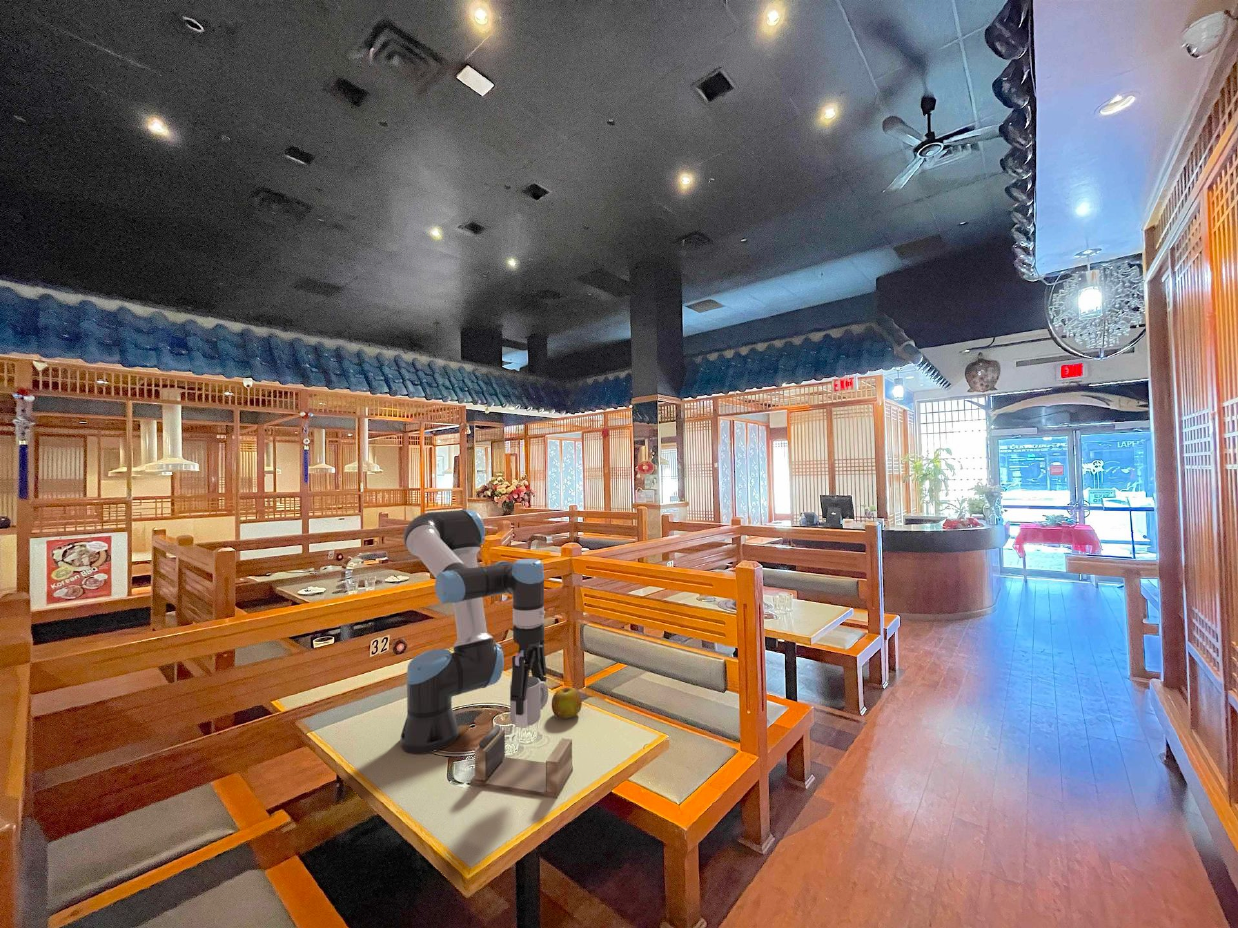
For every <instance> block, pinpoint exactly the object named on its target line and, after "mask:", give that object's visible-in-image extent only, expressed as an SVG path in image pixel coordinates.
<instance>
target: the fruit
mask: <svg viewBox="0 0 1238 928" xmlns="http://www.w3.org/2000/svg"><path fill="white" fill-rule="evenodd" d="M580 694H581V693H580V692H579V691H578V690H577V689H575V688H574V687H569V686H568V687H563V688H561V689H559V690H557V691H556V692H555V693H554V694H553V696H552V699H551V710H552V712H553V714H554V716H555V717H557V718H558V719H563V720H564V719H569V718H572V717H574V716H576V715H578V714H579V713H580V711H581V709H582V706H583V701H582V696H581V695H580Z"/></svg>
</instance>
